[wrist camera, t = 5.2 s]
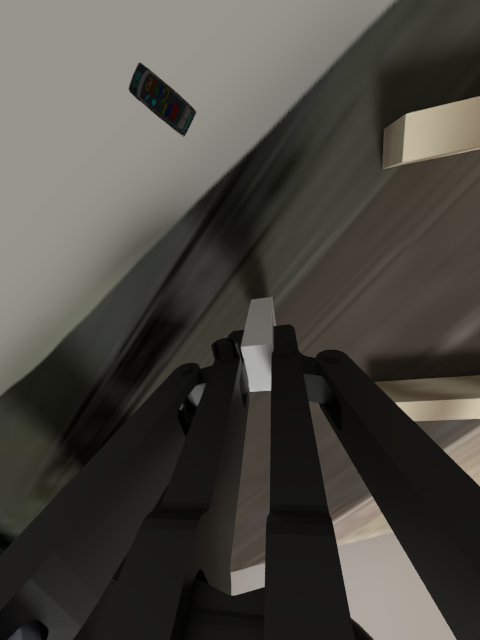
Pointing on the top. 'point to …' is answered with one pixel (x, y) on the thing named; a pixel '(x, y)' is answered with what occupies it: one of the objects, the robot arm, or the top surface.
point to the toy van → (161, 99)
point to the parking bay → (409, 147)
